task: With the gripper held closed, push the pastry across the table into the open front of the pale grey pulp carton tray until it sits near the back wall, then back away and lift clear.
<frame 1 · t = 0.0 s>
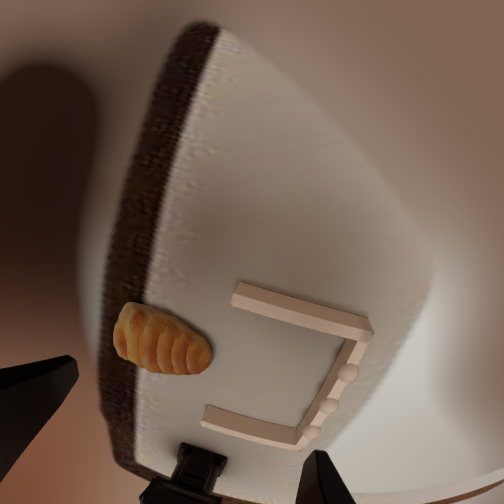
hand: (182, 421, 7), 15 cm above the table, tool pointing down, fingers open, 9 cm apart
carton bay: (272, 374, 23), on the table
pastry: (163, 333, 25), on the table
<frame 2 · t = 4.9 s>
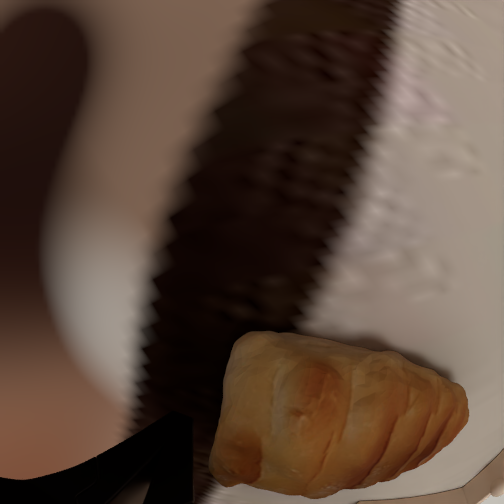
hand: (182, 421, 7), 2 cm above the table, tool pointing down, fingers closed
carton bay: (489, 432, 7), on the table
pastry: (332, 397, 9), on the table, touching gripper
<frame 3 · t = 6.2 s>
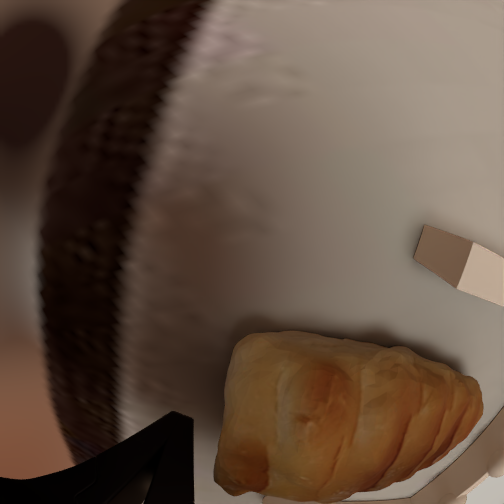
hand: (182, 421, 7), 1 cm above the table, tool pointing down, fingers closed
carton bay: (421, 437, 8), on the table
pastry: (341, 397, 8), on the table, touching gripper
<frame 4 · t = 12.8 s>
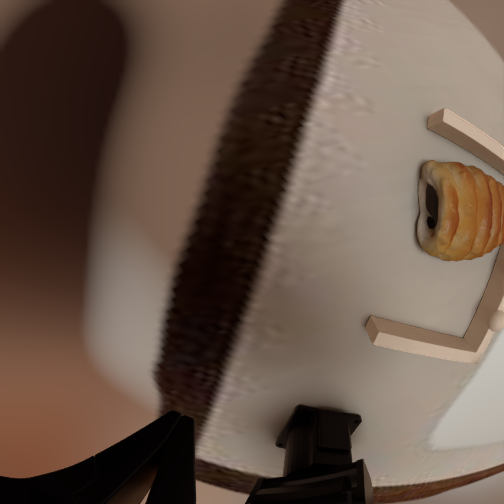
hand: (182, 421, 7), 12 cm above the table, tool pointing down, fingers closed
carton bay: (457, 244, 16), on the table
pastry: (456, 208, 16), resting in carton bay
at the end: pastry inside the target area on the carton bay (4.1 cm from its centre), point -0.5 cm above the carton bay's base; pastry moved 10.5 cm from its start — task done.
